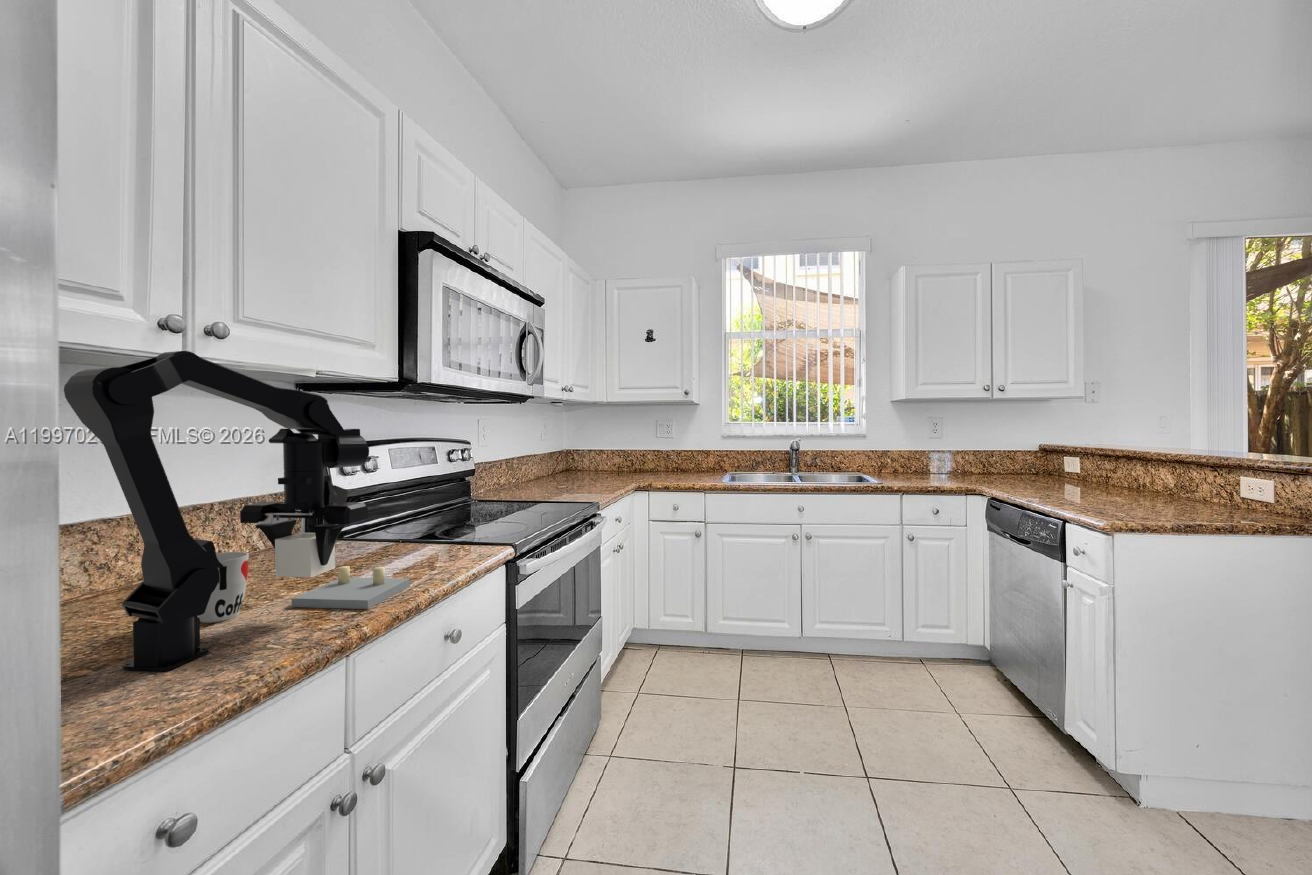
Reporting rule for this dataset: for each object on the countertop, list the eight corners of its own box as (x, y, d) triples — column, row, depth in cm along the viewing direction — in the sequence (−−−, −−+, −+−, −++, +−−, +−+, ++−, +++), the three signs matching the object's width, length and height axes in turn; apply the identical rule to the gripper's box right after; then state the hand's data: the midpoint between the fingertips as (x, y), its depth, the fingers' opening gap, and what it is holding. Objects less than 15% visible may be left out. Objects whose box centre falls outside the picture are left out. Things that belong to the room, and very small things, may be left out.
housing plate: (368, 608, 98) (367, 582, 98) (291, 606, 100) (291, 581, 99) (410, 586, 112) (409, 563, 112) (342, 584, 113) (342, 562, 113)
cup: (216, 627, 89) (215, 563, 89) (174, 624, 91) (173, 561, 91) (261, 611, 97) (260, 552, 97) (222, 608, 99) (221, 550, 99)
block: (310, 577, 91) (310, 539, 91) (275, 576, 92) (275, 539, 92) (335, 567, 97) (334, 532, 97) (302, 567, 98) (301, 532, 98)
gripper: (385, 466, 101) (387, 554, 102) (286, 466, 103) (288, 552, 103) (346, 472, 90) (347, 570, 91) (236, 471, 92) (238, 568, 92)
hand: (306, 564), depth 94 cm, fingers closed on block, 6 cm apart
